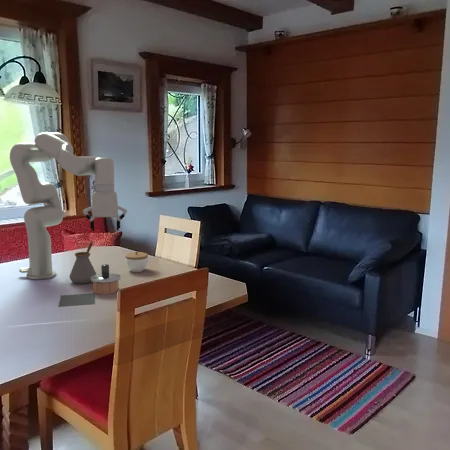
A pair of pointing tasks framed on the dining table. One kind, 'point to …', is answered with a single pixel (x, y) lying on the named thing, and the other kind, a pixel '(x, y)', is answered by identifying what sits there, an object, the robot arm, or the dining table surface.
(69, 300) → the mat
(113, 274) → the lid
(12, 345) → the dining table surface
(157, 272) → the dining table surface
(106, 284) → the bowl
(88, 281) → the coffee pot
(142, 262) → the lidded jar
